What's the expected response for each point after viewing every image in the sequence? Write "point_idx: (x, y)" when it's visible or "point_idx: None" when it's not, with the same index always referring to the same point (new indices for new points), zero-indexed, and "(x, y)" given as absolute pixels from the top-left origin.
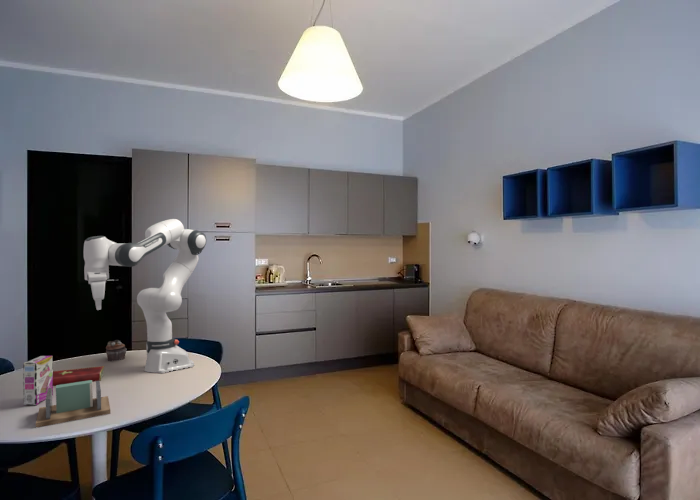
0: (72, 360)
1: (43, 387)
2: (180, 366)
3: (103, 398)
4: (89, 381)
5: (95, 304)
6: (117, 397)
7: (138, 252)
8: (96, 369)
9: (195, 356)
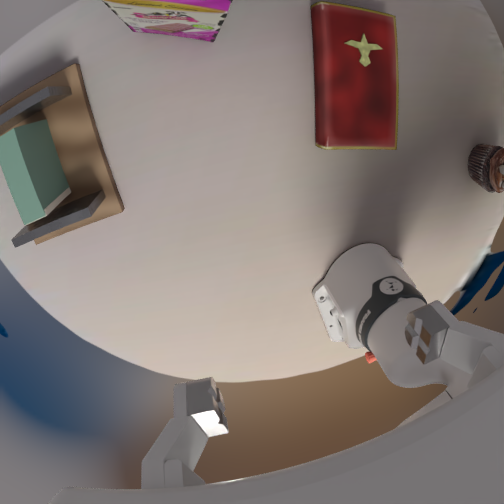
0: (500, 70)
1: (159, 27)
2: (334, 322)
3: (105, 206)
4: (33, 214)
5: (422, 323)
6: (139, 226)
7: None
8: (369, 131)
9: None
